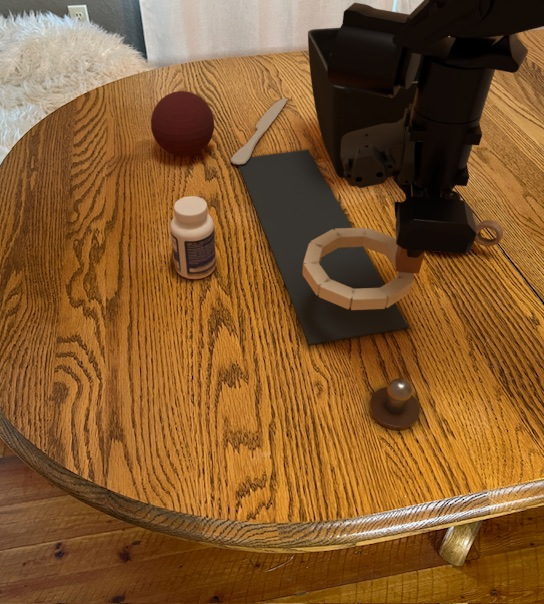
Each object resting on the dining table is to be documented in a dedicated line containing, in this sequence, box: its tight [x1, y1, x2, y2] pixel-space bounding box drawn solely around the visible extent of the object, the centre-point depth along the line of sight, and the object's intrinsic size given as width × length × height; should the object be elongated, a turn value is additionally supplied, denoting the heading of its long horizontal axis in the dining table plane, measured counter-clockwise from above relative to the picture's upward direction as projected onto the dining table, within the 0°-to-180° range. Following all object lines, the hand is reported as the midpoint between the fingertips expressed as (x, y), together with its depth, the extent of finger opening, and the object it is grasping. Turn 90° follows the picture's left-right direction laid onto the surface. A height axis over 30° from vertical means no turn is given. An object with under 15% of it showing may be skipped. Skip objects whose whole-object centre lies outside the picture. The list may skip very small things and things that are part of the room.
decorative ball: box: [150, 90, 215, 158], centre depth 95 cm, size 10×10×10 cm
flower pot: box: [307, 27, 423, 179], centre depth 90 cm, size 19×19×17 cm
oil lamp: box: [474, 217, 504, 247], centre depth 79 cm, size 13×8×5 cm, turn 55°
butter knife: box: [230, 98, 289, 166], centre depth 102 cm, size 1×24×3 cm
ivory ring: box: [302, 227, 426, 310], centre depth 64 cm, size 12×12×7 cm
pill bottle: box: [169, 195, 217, 280], centre depth 75 cm, size 5×5×10 cm
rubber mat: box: [237, 149, 410, 346], centre depth 83 cm, size 40×12×1 cm, turn 11°
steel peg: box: [368, 377, 421, 431], centre depth 60 cm, size 5×5×4 cm
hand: (411, 248), depth 62 cm, fingers closed on ivory ring, 2 cm apart
